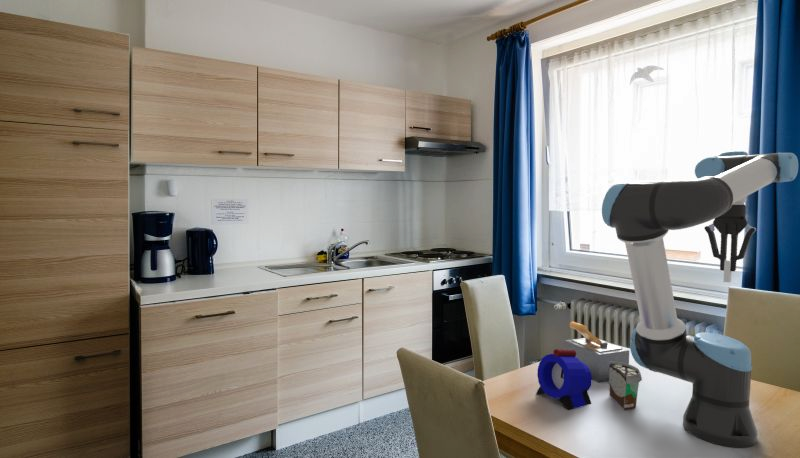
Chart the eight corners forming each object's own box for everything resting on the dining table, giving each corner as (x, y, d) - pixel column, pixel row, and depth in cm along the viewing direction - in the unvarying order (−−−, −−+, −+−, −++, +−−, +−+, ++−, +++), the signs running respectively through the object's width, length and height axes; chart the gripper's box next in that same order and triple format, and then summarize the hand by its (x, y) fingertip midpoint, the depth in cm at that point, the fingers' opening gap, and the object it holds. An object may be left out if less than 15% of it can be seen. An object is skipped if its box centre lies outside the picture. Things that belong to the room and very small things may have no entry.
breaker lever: (591, 336, 160) (571, 320, 156) (603, 341, 154) (583, 324, 151) (587, 342, 159) (568, 325, 156) (600, 346, 154) (580, 330, 151)
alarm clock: (534, 394, 139) (535, 344, 138) (564, 387, 145) (565, 338, 144) (566, 411, 128) (567, 357, 127) (597, 402, 134) (599, 350, 133)
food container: (649, 412, 127) (650, 376, 127) (626, 412, 127) (627, 376, 127) (628, 394, 140) (629, 360, 139) (607, 393, 140) (608, 360, 139)
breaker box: (592, 361, 167) (593, 331, 166) (628, 377, 152) (629, 344, 151) (564, 365, 163) (565, 335, 162) (598, 382, 148) (599, 348, 147)
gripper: (759, 203, 140) (755, 282, 142) (708, 203, 149) (705, 277, 151) (755, 204, 135) (751, 286, 136) (702, 203, 144) (699, 280, 145)
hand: (727, 281), depth 143 cm, fingers closed
